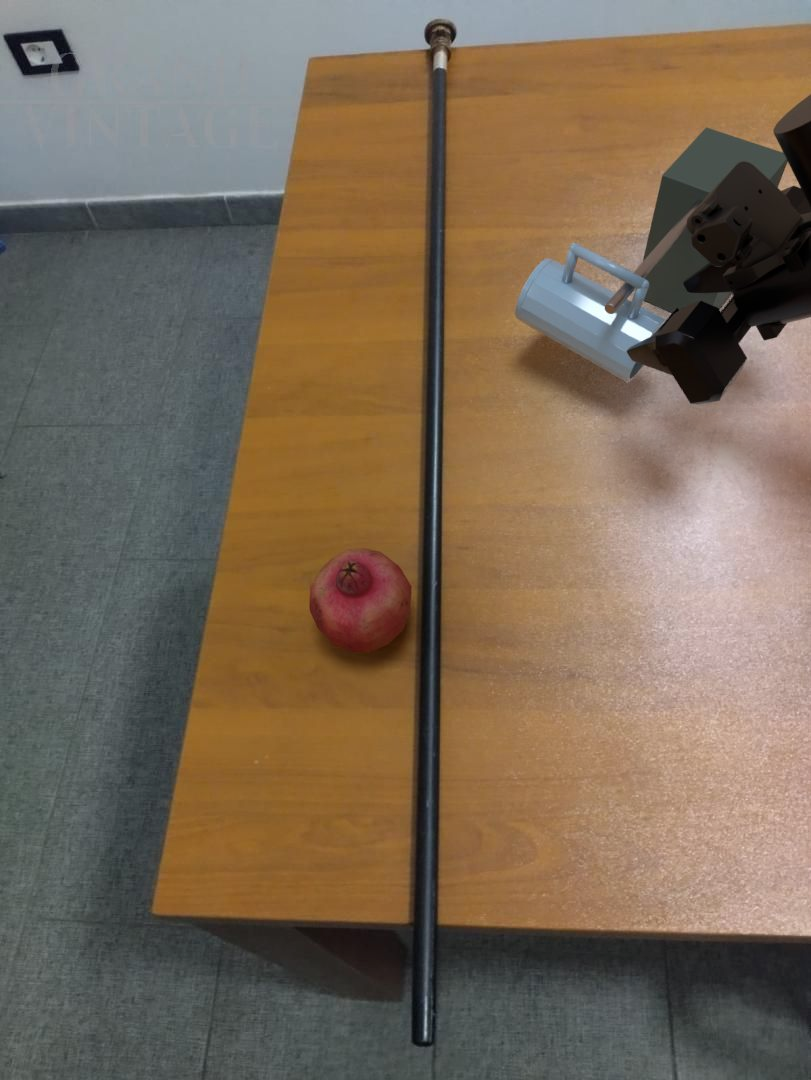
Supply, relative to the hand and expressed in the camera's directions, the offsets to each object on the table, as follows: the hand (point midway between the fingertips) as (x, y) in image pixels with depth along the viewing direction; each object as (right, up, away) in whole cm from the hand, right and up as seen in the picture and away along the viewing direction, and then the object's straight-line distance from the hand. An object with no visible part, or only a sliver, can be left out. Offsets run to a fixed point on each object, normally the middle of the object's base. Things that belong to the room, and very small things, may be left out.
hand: (658, 319), depth 62 cm
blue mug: (-9, +6, +5) cm, 12 cm away
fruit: (-24, -25, +1) cm, 35 cm away
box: (+4, +3, +13) cm, 14 cm away
